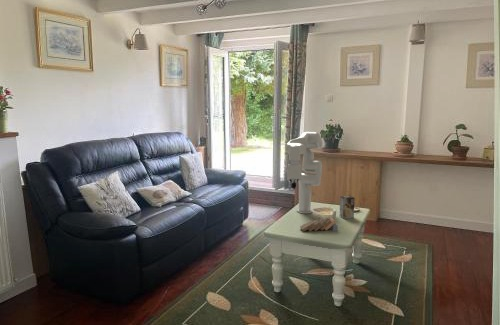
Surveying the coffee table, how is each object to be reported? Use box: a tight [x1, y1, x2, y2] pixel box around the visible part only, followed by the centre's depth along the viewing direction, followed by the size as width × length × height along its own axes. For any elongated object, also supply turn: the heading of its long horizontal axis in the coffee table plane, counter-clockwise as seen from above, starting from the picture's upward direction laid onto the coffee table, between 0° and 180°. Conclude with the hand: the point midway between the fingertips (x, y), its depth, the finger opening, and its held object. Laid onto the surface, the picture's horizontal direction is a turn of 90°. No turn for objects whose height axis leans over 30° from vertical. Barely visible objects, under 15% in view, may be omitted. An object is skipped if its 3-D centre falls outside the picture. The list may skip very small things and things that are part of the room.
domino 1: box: [299, 220, 314, 232], centre depth 246 cm, size 6×2×9 cm
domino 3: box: [313, 218, 326, 232], centre depth 247 cm, size 6×2×9 cm
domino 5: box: [324, 217, 337, 231], centre depth 248 cm, size 6×2×9 cm
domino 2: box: [307, 219, 320, 232], centre depth 247 cm, size 6×2×9 cm
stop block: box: [329, 222, 339, 232], centre depth 249 cm, size 8×3×4 cm, turn 8°
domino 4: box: [319, 217, 332, 232], centre depth 248 cm, size 6×2×9 cm
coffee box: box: [339, 195, 356, 219], centre depth 274 cm, size 9×6×16 cm
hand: (293, 188), depth 253 cm, fingers closed
